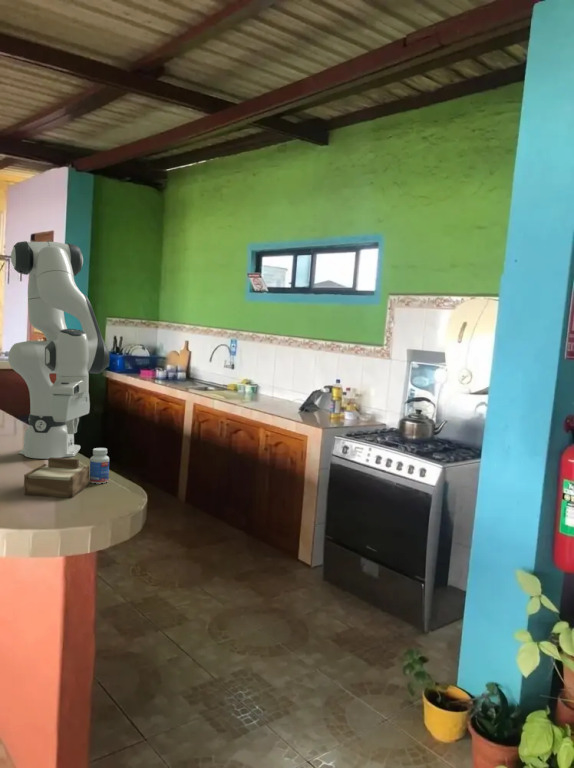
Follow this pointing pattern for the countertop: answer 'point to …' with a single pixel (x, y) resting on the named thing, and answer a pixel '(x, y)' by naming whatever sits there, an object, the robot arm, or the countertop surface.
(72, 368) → the robot arm
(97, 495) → the countertop surface
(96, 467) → the pill bottle
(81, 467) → the lid
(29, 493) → the lid box
